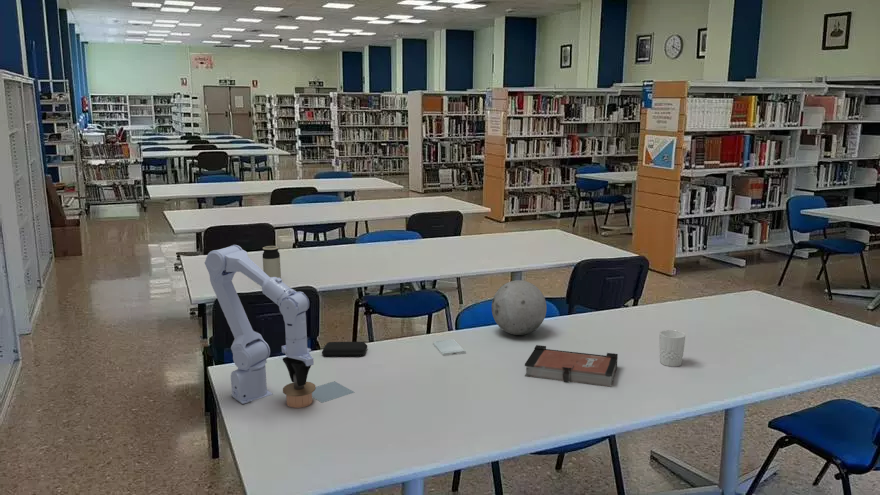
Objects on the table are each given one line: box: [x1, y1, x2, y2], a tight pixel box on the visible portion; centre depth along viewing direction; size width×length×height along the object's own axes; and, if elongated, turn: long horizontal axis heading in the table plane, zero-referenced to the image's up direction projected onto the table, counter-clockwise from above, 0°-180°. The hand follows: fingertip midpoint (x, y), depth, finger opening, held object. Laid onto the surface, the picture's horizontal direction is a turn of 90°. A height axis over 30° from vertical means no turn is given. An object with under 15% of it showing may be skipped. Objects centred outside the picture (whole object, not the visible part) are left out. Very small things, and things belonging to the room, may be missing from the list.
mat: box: [312, 380, 355, 404], centre depth 198 cm, size 11×11×1 cm
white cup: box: [659, 329, 687, 368], centre depth 218 cm, size 8×8×10 cm
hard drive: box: [432, 338, 467, 357], centre depth 234 cm, size 2×8×12 cm
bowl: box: [285, 393, 313, 409], centre depth 190 cm, size 7×7×4 cm
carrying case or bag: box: [321, 341, 368, 358], centre depth 232 cm, size 11×3×15 cm
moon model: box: [491, 279, 547, 336], centre depth 247 cm, size 20×20×20 cm
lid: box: [282, 373, 317, 396], centre depth 189 cm, size 9×9×5 cm
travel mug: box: [262, 245, 282, 279], centre depth 323 cm, size 8×8×18 cm
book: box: [524, 344, 619, 388], centre depth 212 cm, size 26×18×5 cm
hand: (298, 383), depth 189 cm, fingers open, 3 cm apart
